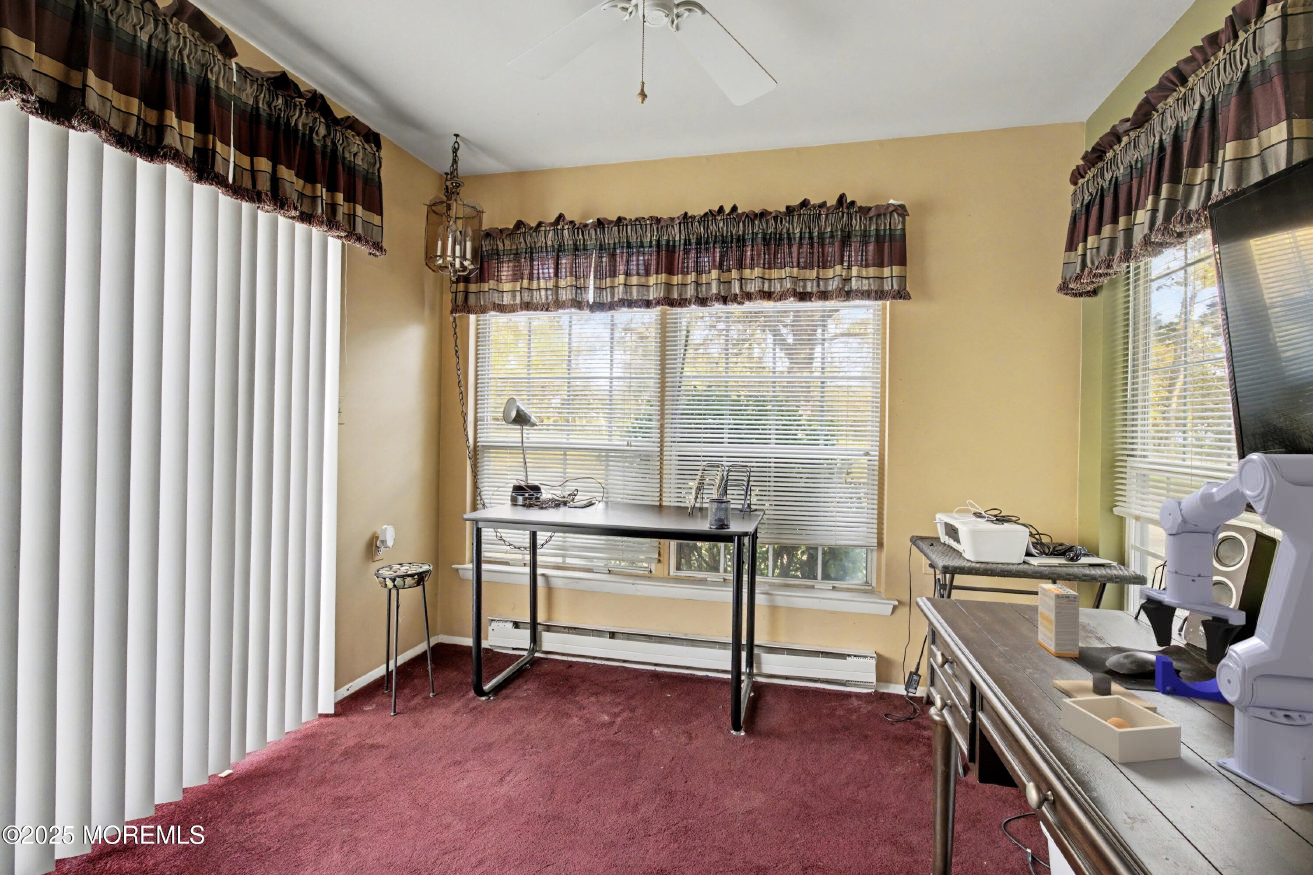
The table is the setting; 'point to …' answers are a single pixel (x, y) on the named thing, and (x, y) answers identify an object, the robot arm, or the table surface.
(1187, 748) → the table surface
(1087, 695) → the oak lid
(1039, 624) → the supplement box
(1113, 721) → the orange ball
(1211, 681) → the blue concave arch block
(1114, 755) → the cream box
